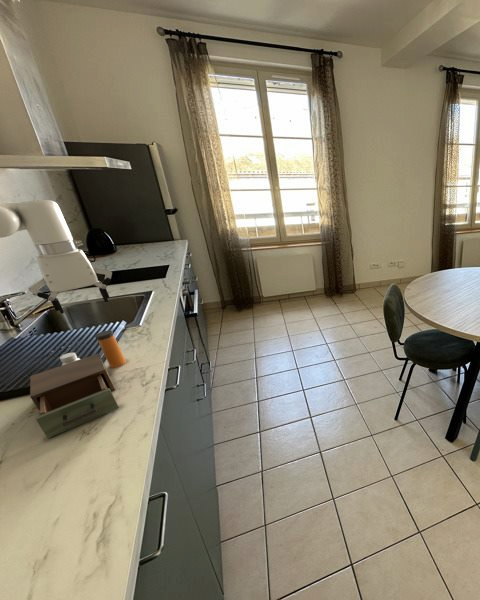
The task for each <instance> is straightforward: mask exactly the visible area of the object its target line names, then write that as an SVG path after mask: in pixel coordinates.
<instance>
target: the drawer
mask: <svg viewBox="0 0 480 600" xmlns="http://www.w3.org/2000/svg"><path fill="white" fill-rule="evenodd" d="M112 392H113V391H112ZM112 392H111V390H110V388H107V386H106V384H105V382H104V380H103V378H102V376H101V374H99V375H97V376H94V377H91V378H88V379H86V380H83V381H80V382H78V383H75V384H72V385H69V386H67V387H64V388H61V389H59V390H56V391H53V392H50V393H48V394H45V395H42V396H40V412H39V414H40V415H38V416H36V417H35V421H36V422H37V424H38V426H39V427H40V429H41V430H42V432H43V433H44V435H45V436H46V438H47V439H50V438H52V437H54V436H57V435H59V434H62V433H65V432H66V431H69V430H71V429H73V428H75V427H78V426H80V425H82V424H85V423H87V422H89V421H91V420H94V419H96V418H99V417H101V416H103V415H106V414H108V413H110V412H112V411H114V410H117V409H119V408H120V407H119V404H118V402H117V400H116V398H115V396H114V394H113V393H112Z"/></svg>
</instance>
